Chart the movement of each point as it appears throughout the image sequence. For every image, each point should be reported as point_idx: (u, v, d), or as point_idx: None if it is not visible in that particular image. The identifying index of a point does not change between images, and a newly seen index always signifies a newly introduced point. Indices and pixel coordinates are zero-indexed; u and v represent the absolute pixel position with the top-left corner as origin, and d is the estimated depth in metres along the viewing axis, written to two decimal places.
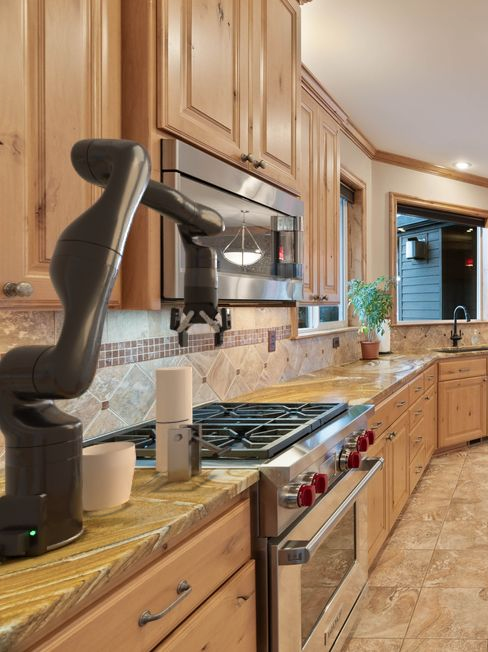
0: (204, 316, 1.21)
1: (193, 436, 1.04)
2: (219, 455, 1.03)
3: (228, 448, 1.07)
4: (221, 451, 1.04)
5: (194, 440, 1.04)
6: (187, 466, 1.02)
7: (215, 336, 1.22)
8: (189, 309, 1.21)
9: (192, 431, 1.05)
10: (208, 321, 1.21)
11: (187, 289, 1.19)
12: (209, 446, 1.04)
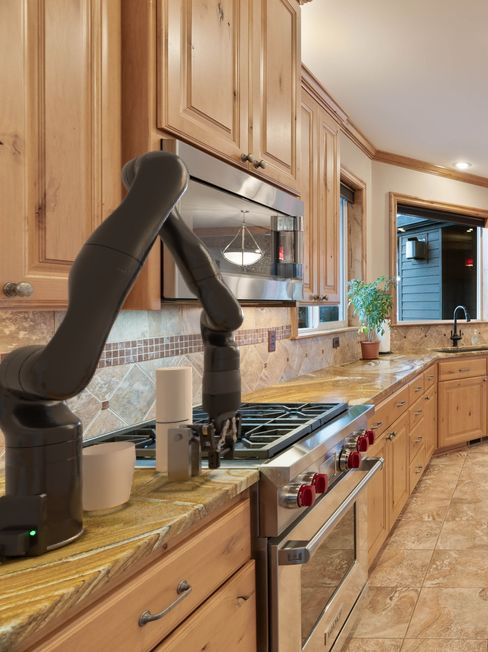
0: None
1: (193, 436, 1.04)
2: None
3: (228, 448, 1.07)
4: (221, 451, 1.04)
5: (194, 440, 1.04)
6: (187, 466, 1.02)
7: None
8: None
9: (192, 431, 1.05)
10: None
11: None
12: None
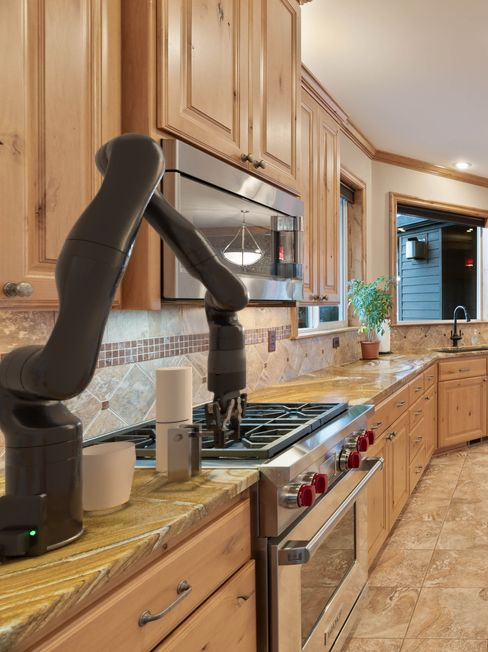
0: None
1: (193, 432, 1.04)
2: None
3: (232, 429, 1.07)
4: None
5: (195, 434, 1.04)
6: (187, 466, 1.02)
7: None
8: None
9: None
10: None
11: None
12: (212, 433, 1.04)
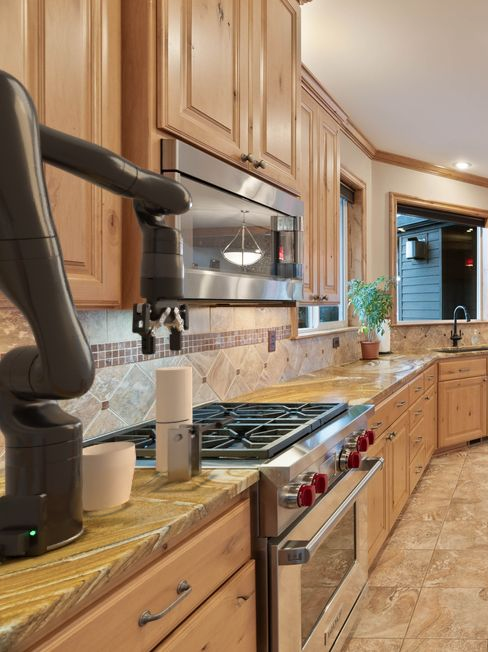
0: None
1: (192, 430, 1.04)
2: (221, 422, 1.03)
3: (230, 417, 1.07)
4: (222, 420, 1.04)
5: (195, 431, 1.04)
6: (187, 466, 1.02)
7: None
8: None
9: None
10: None
11: None
12: (210, 425, 1.04)
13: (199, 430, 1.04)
